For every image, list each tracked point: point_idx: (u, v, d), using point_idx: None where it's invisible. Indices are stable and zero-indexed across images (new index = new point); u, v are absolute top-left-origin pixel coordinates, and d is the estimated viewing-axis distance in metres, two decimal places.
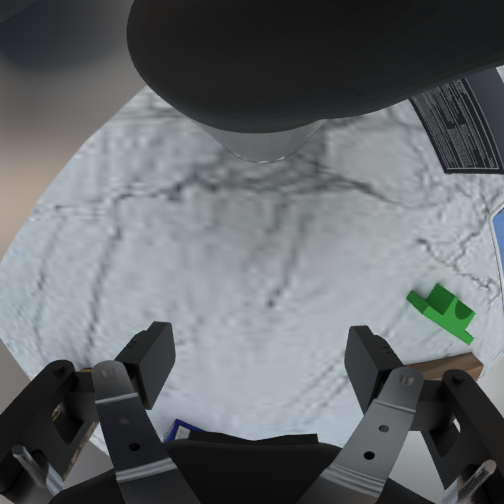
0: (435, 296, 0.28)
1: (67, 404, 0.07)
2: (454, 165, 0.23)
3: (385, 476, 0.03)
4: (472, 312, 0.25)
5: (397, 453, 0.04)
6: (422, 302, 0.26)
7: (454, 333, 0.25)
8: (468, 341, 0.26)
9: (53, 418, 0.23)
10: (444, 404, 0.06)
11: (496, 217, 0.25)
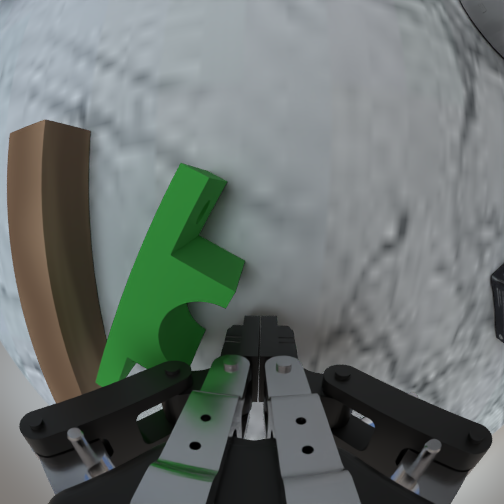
0: (215, 251, 0.13)
1: (168, 407, 0.08)
2: None
3: (338, 459, 0.04)
4: None
5: (331, 436, 0.05)
6: (211, 177, 0.10)
7: (117, 322, 0.10)
8: (103, 378, 0.11)
9: None
10: (339, 404, 0.07)
11: None
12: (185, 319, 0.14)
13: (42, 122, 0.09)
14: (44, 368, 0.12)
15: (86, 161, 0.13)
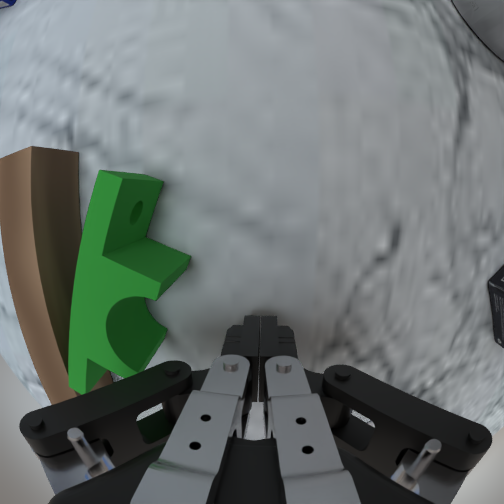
0: (157, 250, 0.13)
1: (168, 407, 0.08)
2: None
3: (338, 459, 0.04)
4: (133, 371, 0.10)
5: (331, 436, 0.05)
6: (133, 178, 0.10)
7: (73, 324, 0.10)
8: (74, 381, 0.11)
9: None
10: (339, 404, 0.07)
11: None
12: (144, 319, 0.14)
13: (29, 149, 0.09)
14: (46, 387, 0.12)
15: (75, 183, 0.13)
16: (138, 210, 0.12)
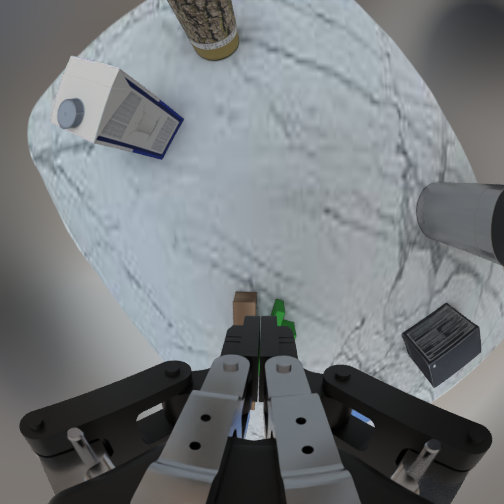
0: (285, 323, 0.41)
1: (168, 407, 0.08)
2: (412, 337, 0.39)
3: (338, 459, 0.04)
4: None
5: (331, 436, 0.05)
6: (283, 309, 0.38)
7: None
8: None
9: (230, 0, 0.21)
10: (339, 404, 0.07)
11: None
12: None
13: (254, 303, 0.37)
14: None
15: None
16: None
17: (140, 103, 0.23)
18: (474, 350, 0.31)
